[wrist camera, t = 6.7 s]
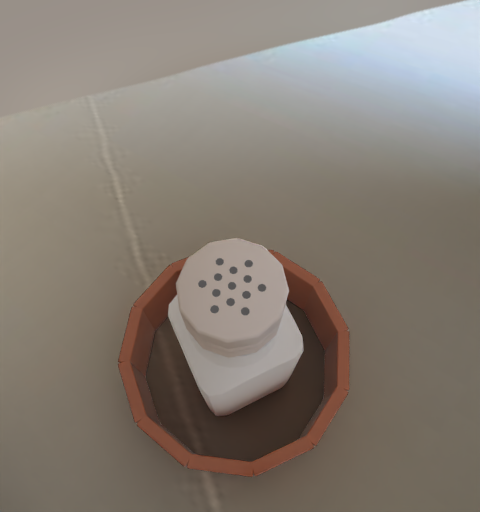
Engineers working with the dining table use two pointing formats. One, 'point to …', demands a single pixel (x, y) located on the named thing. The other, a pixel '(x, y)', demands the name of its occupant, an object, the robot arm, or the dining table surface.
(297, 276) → the faceted terracotta ring
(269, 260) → the pepper shaker
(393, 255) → the dining table surface
